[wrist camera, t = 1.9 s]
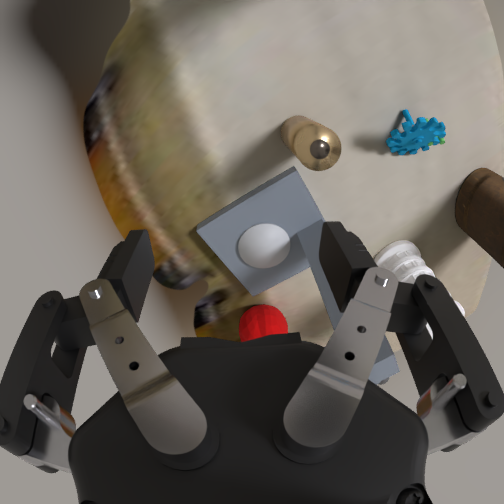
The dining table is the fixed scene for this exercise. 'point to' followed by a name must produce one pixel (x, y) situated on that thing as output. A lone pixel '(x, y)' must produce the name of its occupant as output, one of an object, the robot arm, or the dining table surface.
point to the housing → (311, 142)
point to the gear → (416, 135)
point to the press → (279, 246)
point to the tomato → (261, 322)
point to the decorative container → (405, 264)
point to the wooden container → (483, 211)
